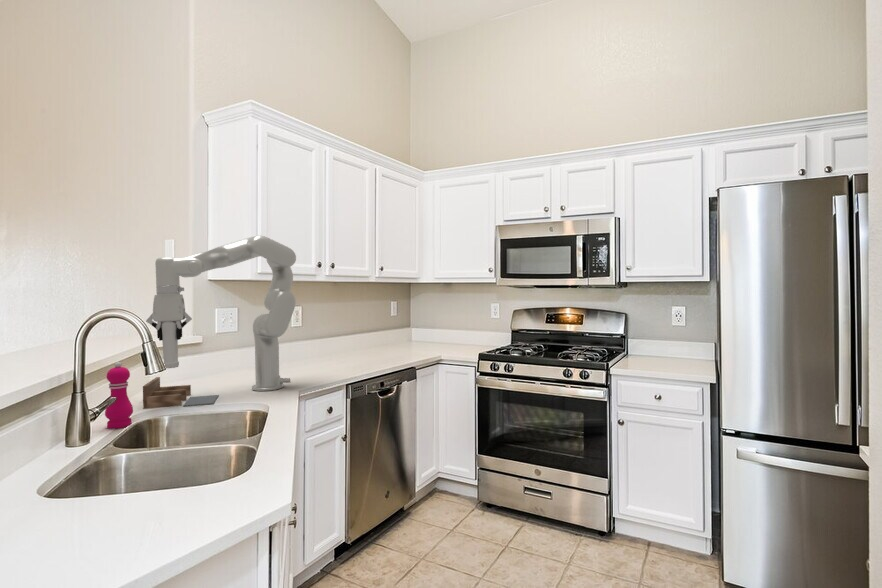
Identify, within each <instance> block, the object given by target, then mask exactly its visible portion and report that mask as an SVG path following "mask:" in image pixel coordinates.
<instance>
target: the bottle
mask: <svg viewBox="0 0 882 588" xmlns="http://www.w3.org/2000/svg"><path fill="white" fill-rule="evenodd" d="M161 326H162V340H161V341H162V354H163V355H162V357H163V363H164V364H165V367H166V368H165V369H176V368H178V367H179V366H180V365H179V364H180V361H179V353H178V352H179V350H178V349H179V347H178V346H179V342H178V340H177V327H178V326H177V324H176V321H166V322H162V323H161Z"/></svg>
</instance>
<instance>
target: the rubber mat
mask: <svg viewBox="0 0 882 588" xmlns="http://www.w3.org/2000/svg"><path fill="white" fill-rule="evenodd" d="M219 397H220V395H219V394H213V395H211V394H210V395H198V396H197V395H196V396H190V397H189V398H188V399H187V400H185V401H186V402H185V403H184V404H182V407H183V408H184V407H195V406H196V407H199V406H209V405H215V402H216V401H217V399H218V398H219Z"/></svg>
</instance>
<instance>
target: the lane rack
mask: <svg viewBox="0 0 882 588" xmlns="http://www.w3.org/2000/svg"><path fill="white" fill-rule="evenodd" d="M191 388H192V385H191V384H184V385H183V384H181V385H172V386H171V385H170V386H161V376H156V377H154V378H153V379H151V380H150V381H148V382H147V383H145V384H144V385H143V386H142V402H143V403H142V406H143V407H142V409H144V410H145V409H157V408H171V407H181V406H183V401H187V400H188V399H187V397H189V396H192V395H191V394H192V389H191Z"/></svg>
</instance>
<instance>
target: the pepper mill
mask: <svg viewBox="0 0 882 588" xmlns="http://www.w3.org/2000/svg"><path fill="white" fill-rule="evenodd" d="M130 377H131V372H130V370H129V369H128V368H127V367H125V366H122V363H121V361H117V362H115V363H114V367H111V368H110V369H109V370H108V371H107V372H106V380H107V381H108V382H109V383H108V386H109V387H108V389H110V397H117V400H116V401H115V403H113V404H112V405H110V406H109V407H107V406H106V407H107V408H106V407H105V411H104V416H105V418H106V419H108V421H107V422H106V426H107V429H113V430H114V429H115V430H116V429H123V428H126V427H129V426H131V425H132V418H131V417H130V416H132V414H133V413H134V408H133V405H132V402H131V401H130V399H129V396H128V393H127V392H128V391H127V388H128V387H129V381H128V380H129V378H130ZM110 397H109V398H110Z"/></svg>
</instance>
